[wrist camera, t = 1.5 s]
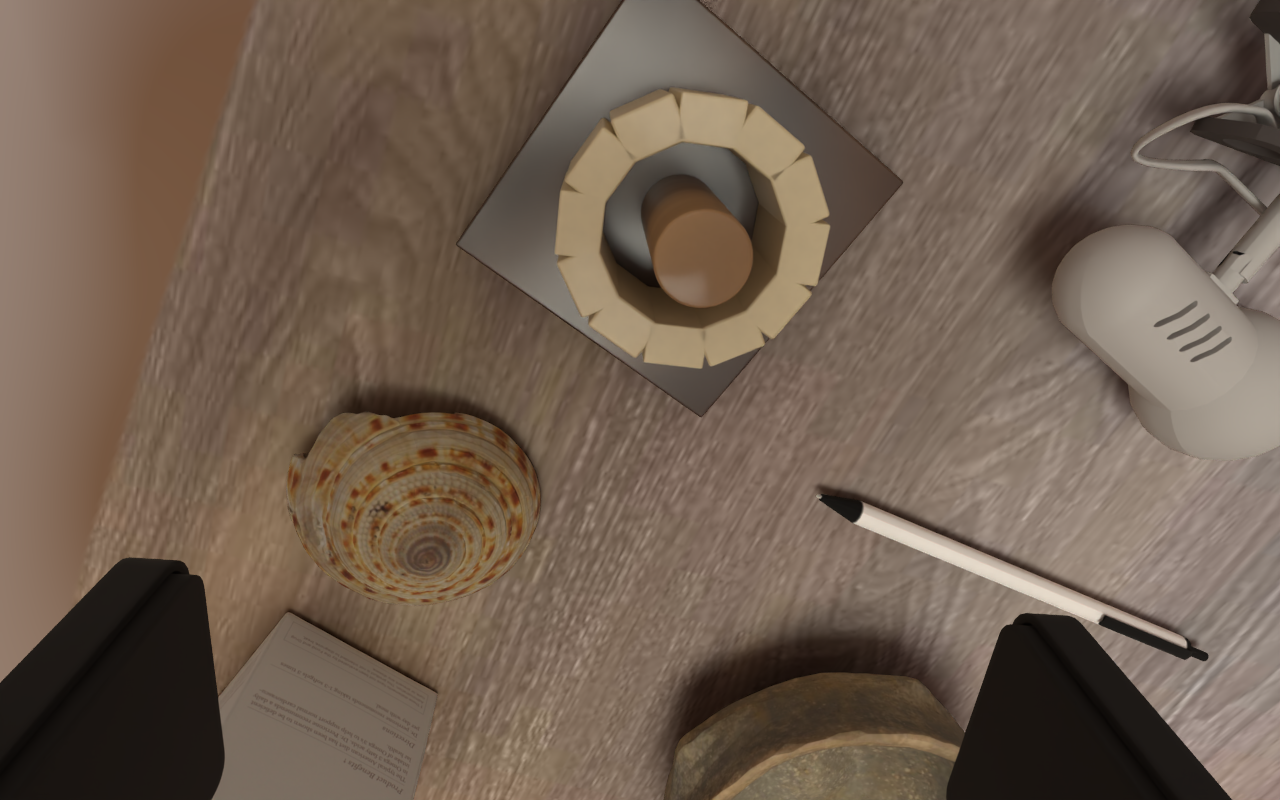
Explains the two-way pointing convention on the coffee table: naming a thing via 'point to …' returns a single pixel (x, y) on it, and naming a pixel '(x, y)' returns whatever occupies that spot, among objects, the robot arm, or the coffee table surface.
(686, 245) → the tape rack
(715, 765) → the bowl
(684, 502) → the coffee table surface
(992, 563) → the pen
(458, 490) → the seashell
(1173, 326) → the clip-on lamp
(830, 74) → the coffee table surface
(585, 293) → the segmented block ring
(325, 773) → the white packaging box
